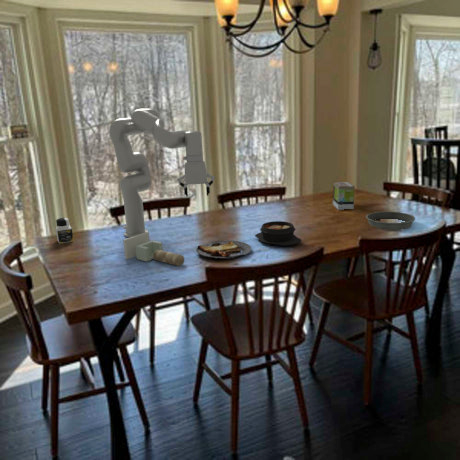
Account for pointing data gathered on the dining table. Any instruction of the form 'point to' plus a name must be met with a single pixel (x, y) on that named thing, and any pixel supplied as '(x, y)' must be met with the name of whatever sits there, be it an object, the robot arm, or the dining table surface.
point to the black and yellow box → (64, 231)
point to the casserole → (278, 233)
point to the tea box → (343, 195)
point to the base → (134, 244)
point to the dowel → (168, 257)
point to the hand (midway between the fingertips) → (197, 195)
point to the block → (148, 250)
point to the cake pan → (390, 215)
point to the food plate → (223, 249)
